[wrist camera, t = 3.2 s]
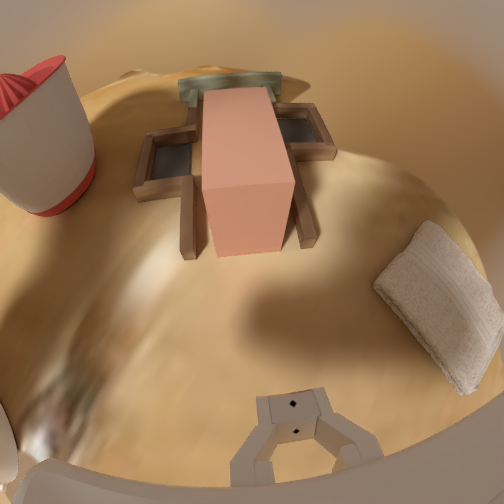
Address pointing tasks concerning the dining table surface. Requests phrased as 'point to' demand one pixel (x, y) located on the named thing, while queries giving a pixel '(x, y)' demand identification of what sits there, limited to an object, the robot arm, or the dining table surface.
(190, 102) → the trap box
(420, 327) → the washcloth
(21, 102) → the citrus juicer
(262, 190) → the terracotta block
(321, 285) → the dining table surface
